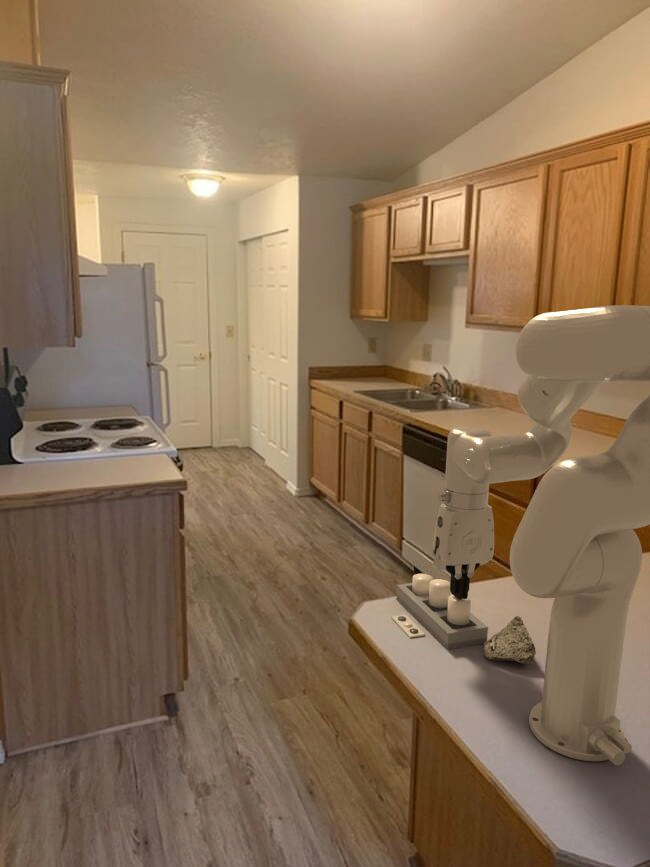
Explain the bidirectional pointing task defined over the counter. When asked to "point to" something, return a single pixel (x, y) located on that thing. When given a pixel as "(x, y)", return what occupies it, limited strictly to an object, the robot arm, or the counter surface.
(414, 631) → the card
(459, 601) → the button near
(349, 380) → the counter surface
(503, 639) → the rock sample
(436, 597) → the button mid
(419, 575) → the button far
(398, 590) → the button board
